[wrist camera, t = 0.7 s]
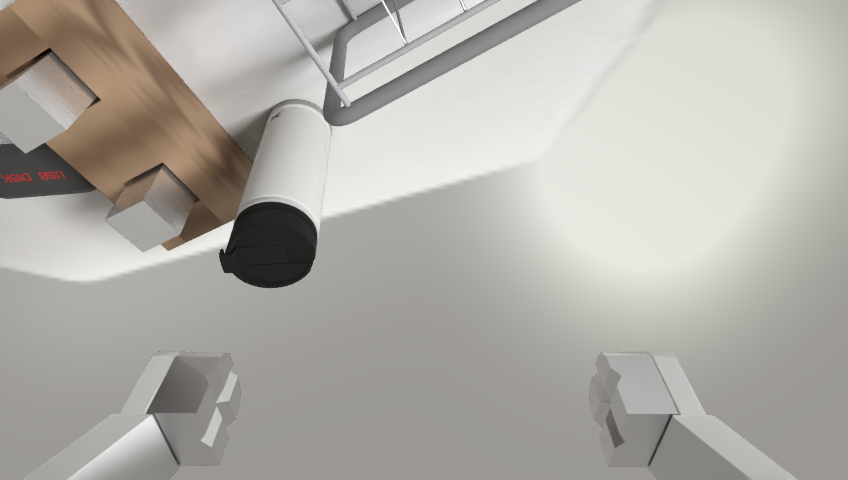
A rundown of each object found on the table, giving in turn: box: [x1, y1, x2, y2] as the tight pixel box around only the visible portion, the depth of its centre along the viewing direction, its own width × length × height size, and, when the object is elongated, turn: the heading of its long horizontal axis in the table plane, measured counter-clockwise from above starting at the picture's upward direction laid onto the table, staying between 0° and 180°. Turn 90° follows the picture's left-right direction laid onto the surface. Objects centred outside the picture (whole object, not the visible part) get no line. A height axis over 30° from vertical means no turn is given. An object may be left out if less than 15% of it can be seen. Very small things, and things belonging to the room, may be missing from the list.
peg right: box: [105, 162, 197, 252], centre depth 45 cm, size 4×4×7 cm
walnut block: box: [0, 0, 253, 251], centre depth 46 cm, size 22×9×8 cm, turn 26°
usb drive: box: [0, 143, 96, 199], centre depth 51 cm, size 5×12×3 cm, turn 93°
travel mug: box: [219, 99, 332, 288], centre depth 44 cm, size 6×7×20 cm
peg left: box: [0, 50, 98, 154], centre depth 38 cm, size 4×4×7 cm
